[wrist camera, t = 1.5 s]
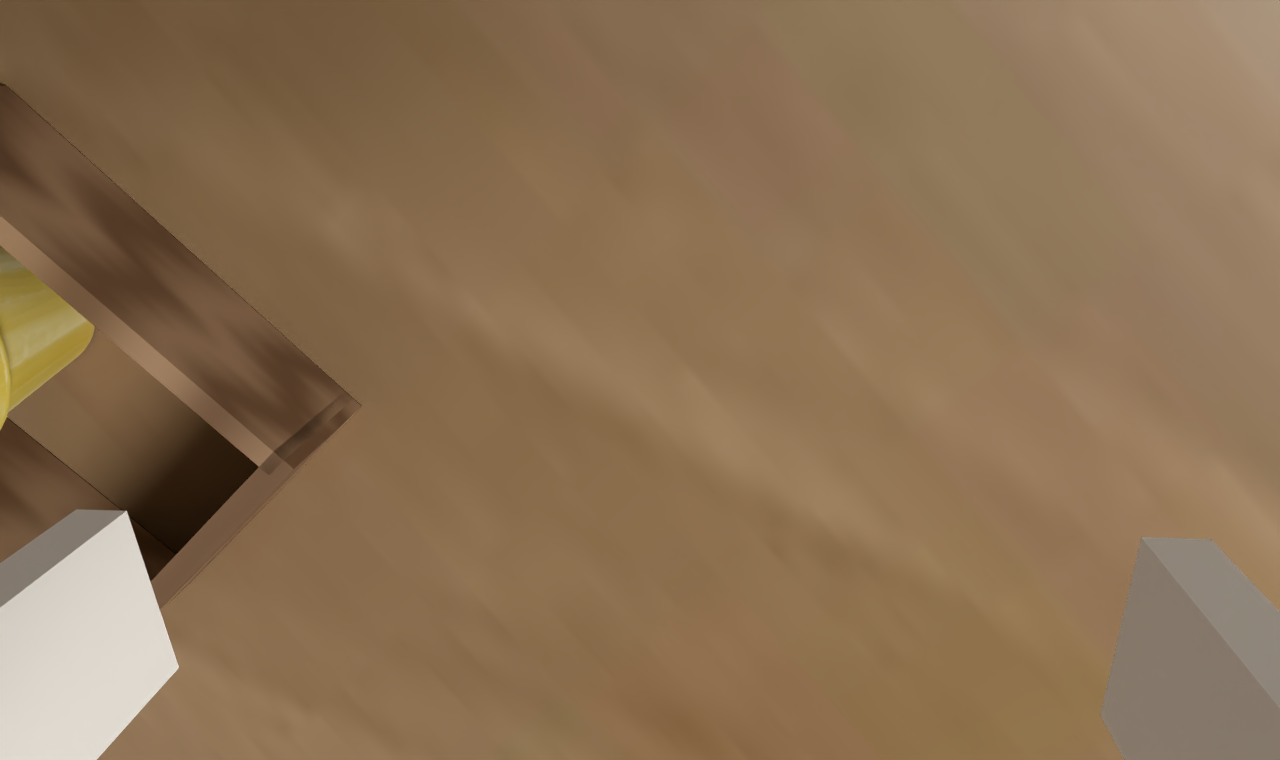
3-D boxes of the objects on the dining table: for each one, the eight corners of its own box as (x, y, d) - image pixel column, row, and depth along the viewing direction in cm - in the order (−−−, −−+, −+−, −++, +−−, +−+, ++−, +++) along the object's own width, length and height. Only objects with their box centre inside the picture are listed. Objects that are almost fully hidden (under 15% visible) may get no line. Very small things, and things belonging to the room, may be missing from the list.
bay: (-136, 322, 38) (-286, 368, 32) (5, 85, 33) (-144, 91, 27) (188, 583, 41) (103, 665, 36) (361, 406, 36) (293, 469, 31)
